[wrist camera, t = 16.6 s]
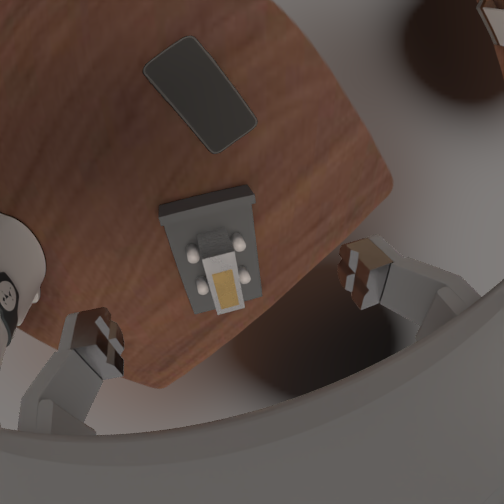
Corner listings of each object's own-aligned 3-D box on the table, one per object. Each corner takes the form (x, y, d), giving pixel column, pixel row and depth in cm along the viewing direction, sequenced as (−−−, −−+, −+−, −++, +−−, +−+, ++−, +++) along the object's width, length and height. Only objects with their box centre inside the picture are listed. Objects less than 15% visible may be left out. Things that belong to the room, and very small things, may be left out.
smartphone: (214, 158, 32) (138, 69, 23) (213, 156, 33) (139, 69, 24) (261, 123, 31) (191, 31, 22) (259, 122, 32) (190, 32, 23)
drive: (196, 234, 37) (202, 260, 32) (224, 227, 37) (234, 251, 32) (210, 287, 43) (217, 315, 38) (235, 281, 43) (245, 308, 38)
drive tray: (193, 309, 46) (196, 325, 43) (159, 205, 34) (158, 218, 31) (260, 291, 48) (266, 306, 45) (247, 184, 36) (254, 194, 33)
